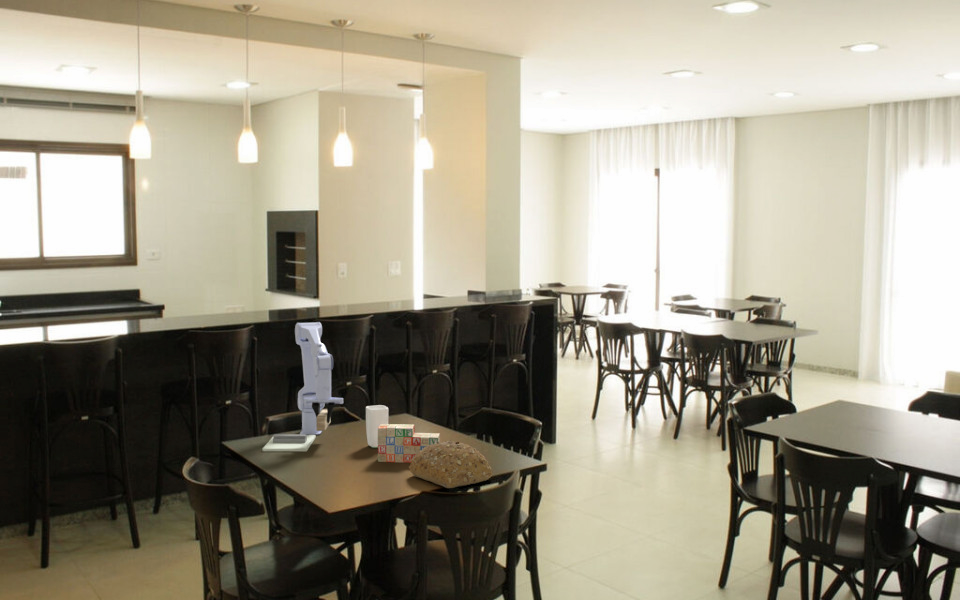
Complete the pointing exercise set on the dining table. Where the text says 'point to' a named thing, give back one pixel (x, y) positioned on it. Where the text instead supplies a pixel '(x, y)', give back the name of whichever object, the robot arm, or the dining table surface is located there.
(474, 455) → the bread
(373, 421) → the cup
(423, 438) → the stack of blocks
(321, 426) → the beech rod
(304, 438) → the fulcrum stand
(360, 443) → the dining table surface
